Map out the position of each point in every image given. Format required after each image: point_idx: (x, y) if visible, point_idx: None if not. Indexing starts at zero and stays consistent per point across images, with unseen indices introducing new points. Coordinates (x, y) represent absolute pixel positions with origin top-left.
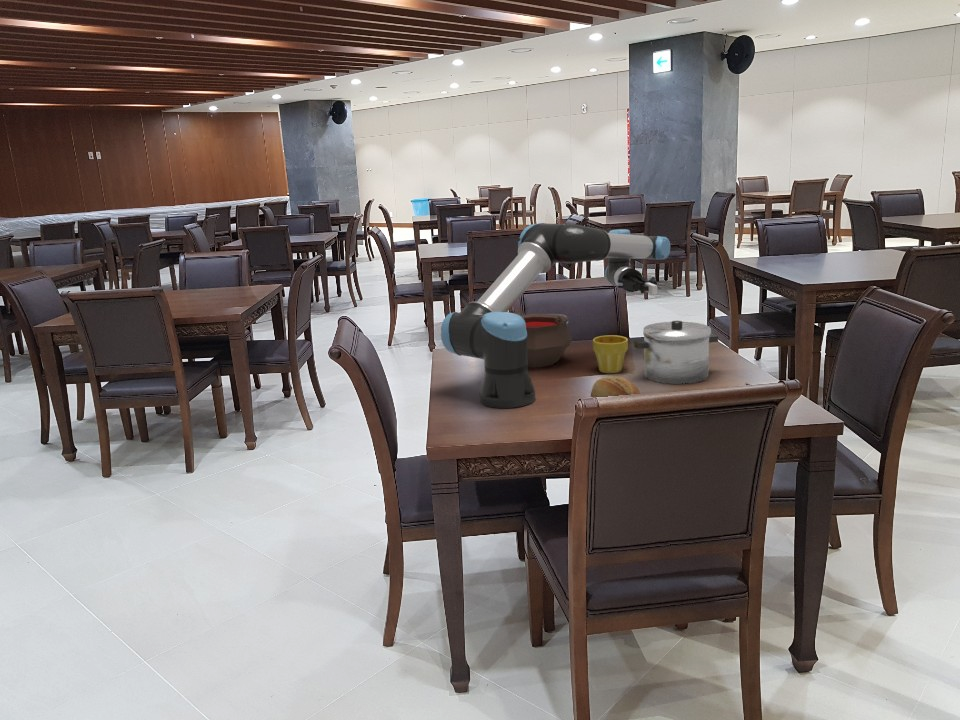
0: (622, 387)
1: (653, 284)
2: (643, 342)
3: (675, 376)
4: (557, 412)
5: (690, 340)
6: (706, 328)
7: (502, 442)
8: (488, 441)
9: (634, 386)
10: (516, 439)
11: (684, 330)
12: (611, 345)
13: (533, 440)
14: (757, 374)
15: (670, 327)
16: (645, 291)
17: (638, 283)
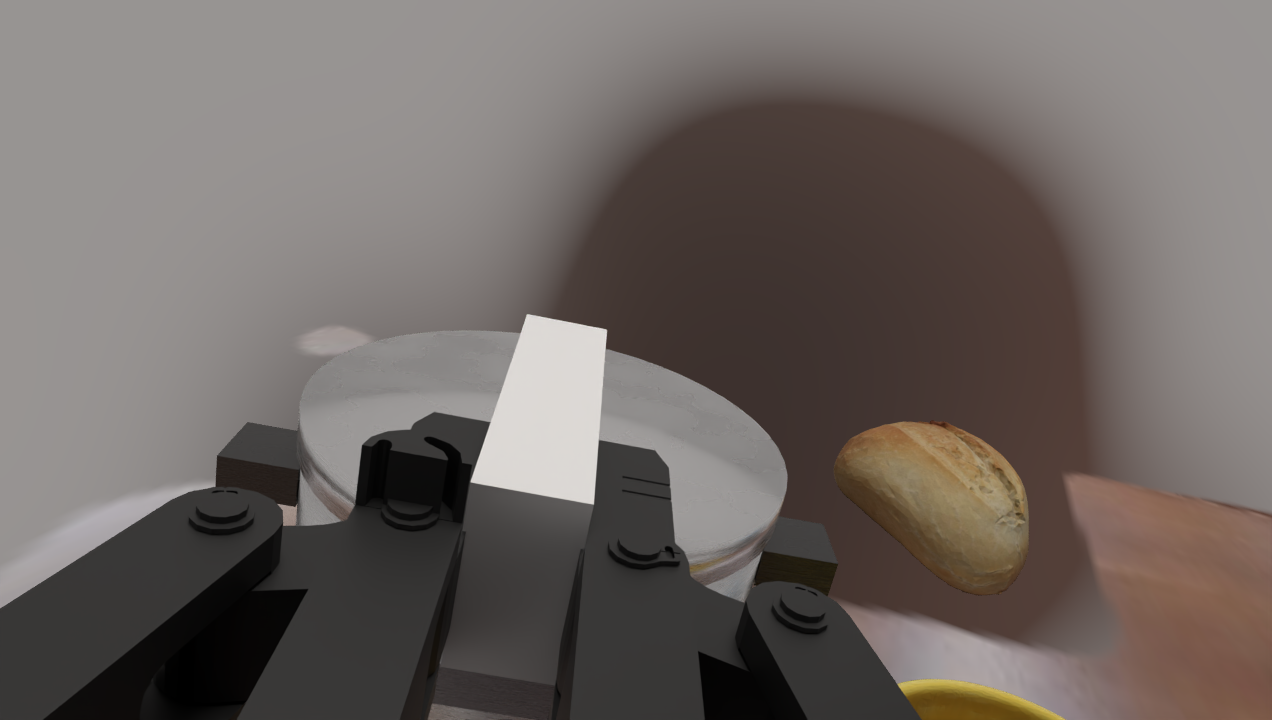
0: (920, 422)
1: (530, 363)
2: (782, 526)
3: None
4: (1129, 582)
5: None
6: (380, 356)
7: (1221, 506)
8: (1265, 521)
9: (873, 428)
10: (1189, 504)
11: None
12: (993, 699)
13: (1139, 487)
14: (79, 539)
15: None
16: (556, 662)
17: (691, 705)
